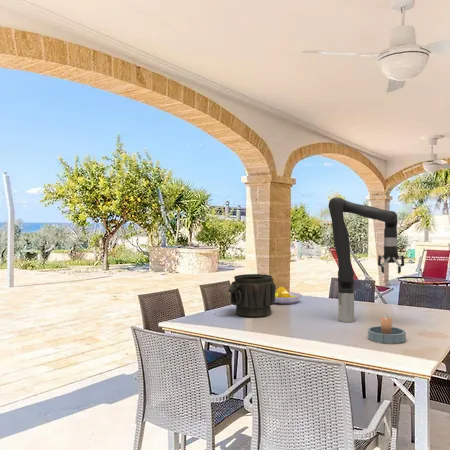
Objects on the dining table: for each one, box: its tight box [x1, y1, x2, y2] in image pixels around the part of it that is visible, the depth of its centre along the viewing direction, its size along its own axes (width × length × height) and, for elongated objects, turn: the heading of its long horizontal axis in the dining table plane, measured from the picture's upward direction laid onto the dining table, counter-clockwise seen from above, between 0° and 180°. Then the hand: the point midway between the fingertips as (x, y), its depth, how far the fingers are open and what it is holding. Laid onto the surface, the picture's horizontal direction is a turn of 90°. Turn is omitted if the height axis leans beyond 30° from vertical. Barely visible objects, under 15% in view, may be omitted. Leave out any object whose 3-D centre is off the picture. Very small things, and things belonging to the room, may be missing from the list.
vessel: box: [227, 273, 277, 317], centre depth 300 cm, size 31×32×25 cm
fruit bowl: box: [273, 286, 302, 305], centre depth 340 cm, size 28×27×11 cm
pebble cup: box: [380, 316, 393, 334], centre depth 233 cm, size 5×5×10 cm
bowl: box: [367, 325, 407, 344], centre depth 233 cm, size 18×18×4 cm
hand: (391, 273), depth 262 cm, fingers open, 8 cm apart
